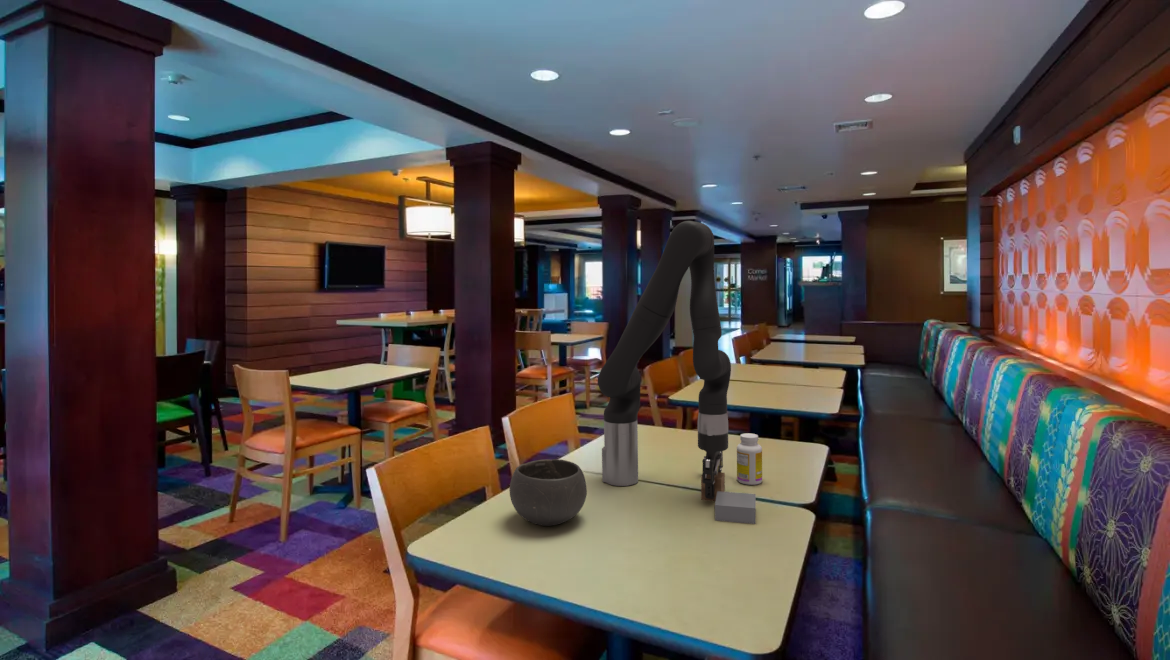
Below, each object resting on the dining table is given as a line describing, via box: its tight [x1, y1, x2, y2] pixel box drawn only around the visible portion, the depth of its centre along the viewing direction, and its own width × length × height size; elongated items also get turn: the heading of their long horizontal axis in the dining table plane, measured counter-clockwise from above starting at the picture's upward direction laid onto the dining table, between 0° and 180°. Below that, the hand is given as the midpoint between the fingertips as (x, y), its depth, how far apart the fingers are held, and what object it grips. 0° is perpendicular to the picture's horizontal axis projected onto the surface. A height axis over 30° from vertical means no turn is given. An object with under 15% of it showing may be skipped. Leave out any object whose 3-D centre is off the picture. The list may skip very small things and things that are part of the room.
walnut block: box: [700, 471, 726, 502], centre depth 151 cm, size 5×5×6 cm
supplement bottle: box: [736, 432, 763, 486], centre depth 162 cm, size 7×7×13 cm
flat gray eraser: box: [714, 491, 757, 525], centre depth 140 cm, size 9×9×4 cm
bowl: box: [509, 458, 588, 527], centre depth 139 cm, size 18×18×13 cm
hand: (713, 492), depth 151 cm, fingers open, 8 cm apart
